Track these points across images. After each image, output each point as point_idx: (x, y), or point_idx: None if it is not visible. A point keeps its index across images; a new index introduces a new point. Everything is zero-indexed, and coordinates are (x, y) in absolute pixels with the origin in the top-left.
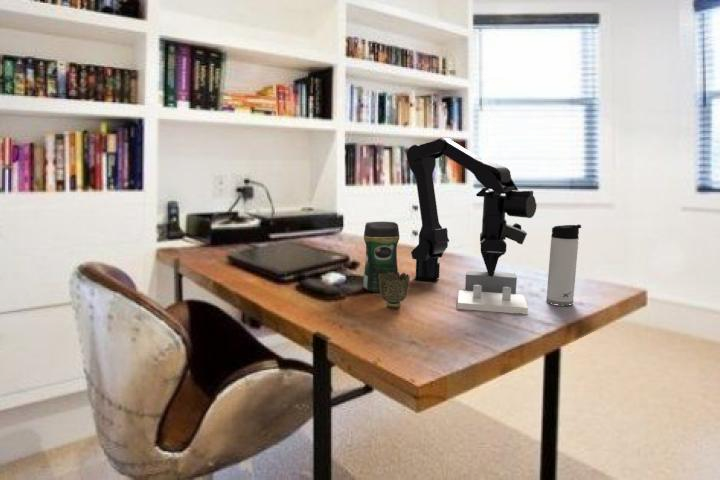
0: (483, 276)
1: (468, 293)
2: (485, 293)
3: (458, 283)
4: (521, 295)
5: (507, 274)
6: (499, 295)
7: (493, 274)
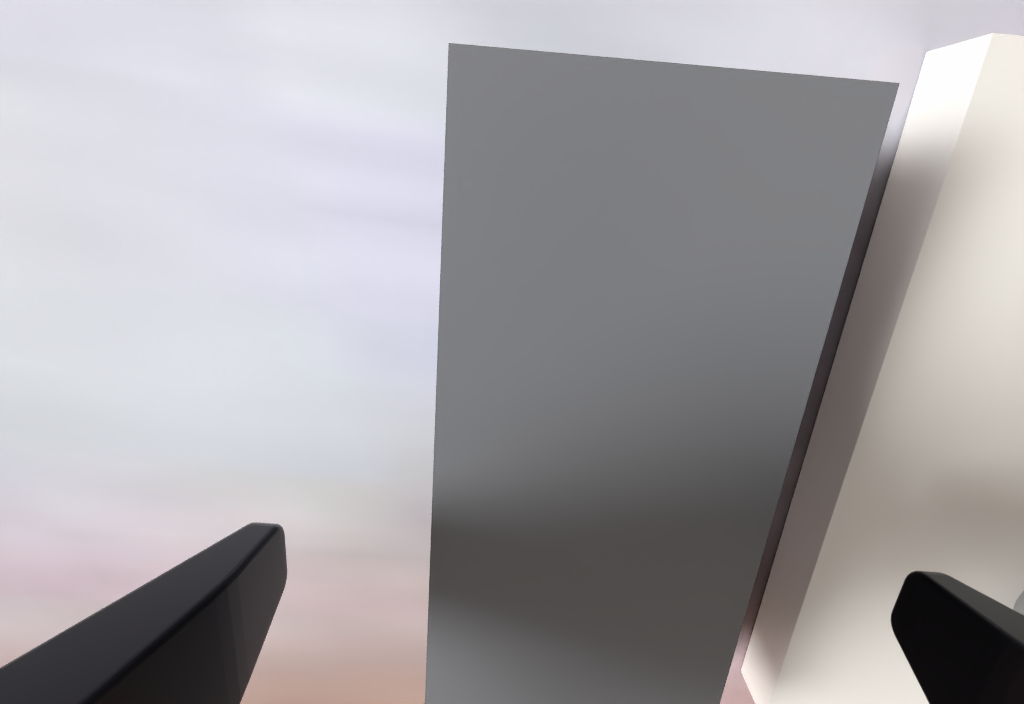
0: (727, 643)
1: (893, 660)
2: (897, 514)
3: (271, 650)
4: None
5: (586, 253)
6: (1006, 378)
7: (980, 596)
